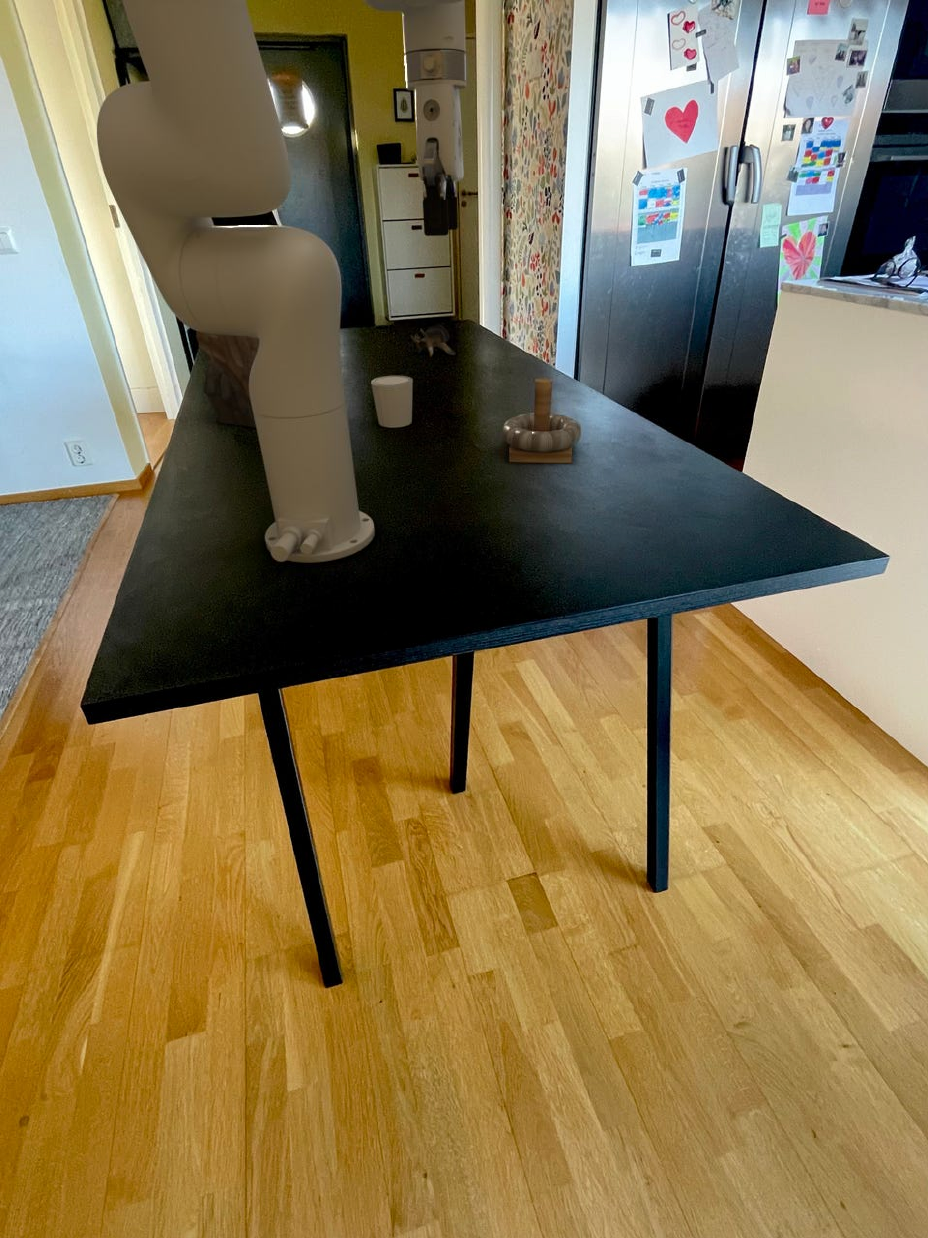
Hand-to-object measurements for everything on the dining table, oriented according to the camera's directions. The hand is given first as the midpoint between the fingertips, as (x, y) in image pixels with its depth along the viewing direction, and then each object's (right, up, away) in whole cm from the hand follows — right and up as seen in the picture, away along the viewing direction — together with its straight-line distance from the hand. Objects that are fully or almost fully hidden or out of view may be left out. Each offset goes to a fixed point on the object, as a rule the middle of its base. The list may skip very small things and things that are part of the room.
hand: (441, 232), depth 92 cm
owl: (-33, -19, +25) cm, 46 cm away
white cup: (-9, -20, +21) cm, 31 cm away
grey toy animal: (-4, +8, +62) cm, 63 cm away
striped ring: (+15, -26, +7) cm, 30 cm away
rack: (+15, -29, +8) cm, 33 cm away
